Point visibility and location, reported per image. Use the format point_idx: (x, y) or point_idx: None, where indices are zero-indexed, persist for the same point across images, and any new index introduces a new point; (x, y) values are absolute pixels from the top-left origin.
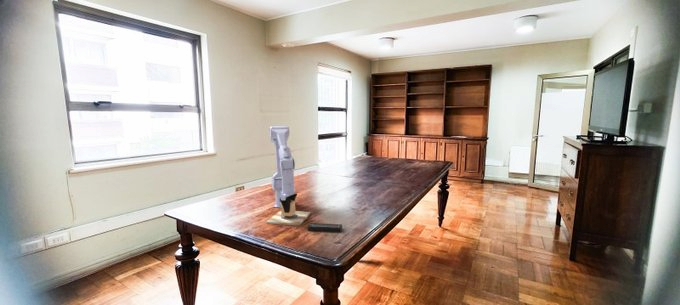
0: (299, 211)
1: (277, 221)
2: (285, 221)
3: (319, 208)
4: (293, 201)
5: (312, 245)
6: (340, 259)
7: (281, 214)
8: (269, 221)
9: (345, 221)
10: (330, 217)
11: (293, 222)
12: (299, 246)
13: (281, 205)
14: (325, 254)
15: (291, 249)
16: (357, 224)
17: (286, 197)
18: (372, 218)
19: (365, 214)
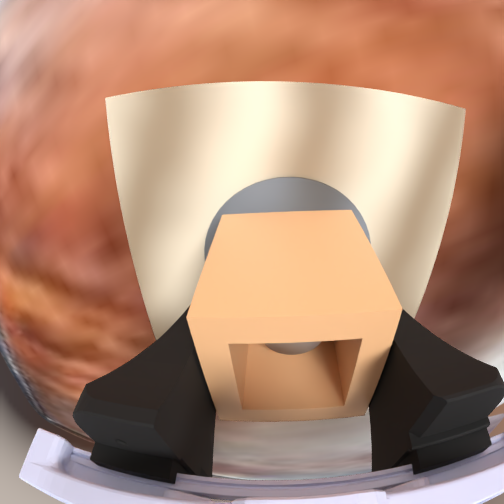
0: (422, 291)
1: (135, 205)
2: (162, 269)
3: (477, 350)
4: (323, 417)
5: (58, 393)
6: (57, 425)
7: (220, 221)
8: (110, 130)
9: (284, 452)
10: (329, 422)
11: (168, 325)
12: (30, 366)
13: (197, 301)
14: (50, 410)
15: (6, 349)
16: (262, 466)
17: (150, 485)
18: (320, 476)
19: (358, 465)
